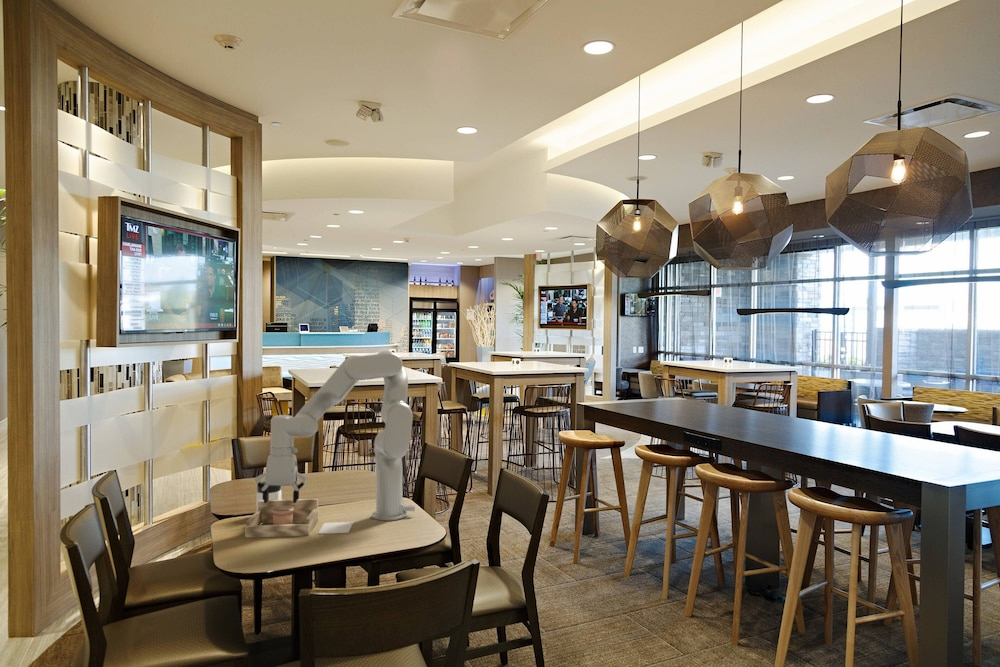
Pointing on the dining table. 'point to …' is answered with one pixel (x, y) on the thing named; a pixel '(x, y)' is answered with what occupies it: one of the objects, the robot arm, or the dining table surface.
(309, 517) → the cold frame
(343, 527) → the tile
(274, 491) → the jar
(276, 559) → the dining table surface
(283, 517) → the pot
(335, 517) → the dining table surface
